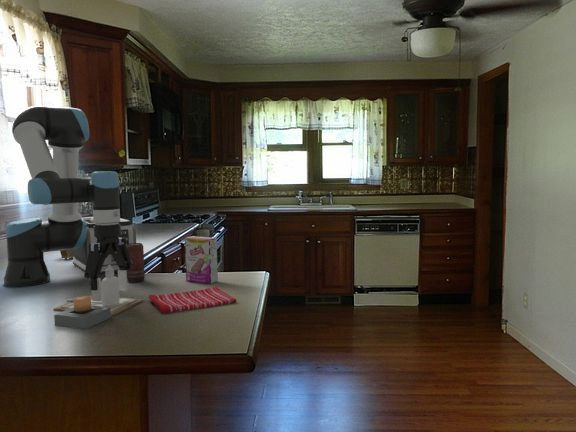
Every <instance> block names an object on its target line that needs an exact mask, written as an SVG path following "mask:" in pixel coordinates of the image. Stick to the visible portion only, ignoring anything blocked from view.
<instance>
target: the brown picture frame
mask: <svg viewBox="0 0 576 432" xmlns="http://www.w3.org/2000/svg"><path fill="white" fill-rule="evenodd" d="M88 296H90V297H91V305H92V306H102V307H110V311H111V317H112V316H114V315H116V314H119V313H121V312H123V311H125V310H128V309H130V308H132V307H134V306H136V305H139V304H141V303H144V302H145V300H144V299H142V298H130V297H120V302H119V303H117V304H115V305H112V306H103V305H102V301H92V294H90V295H88ZM101 297H102V295H101ZM73 299H74V298H70V299H69V298H68V299H67V300H66V302H67V303H64V304H62V305H58V306H56V307H54V308H53V311H54V312H55V311H56V312H62V311H65V310H68V309H70V308H73V307H74V300H73Z"/></svg>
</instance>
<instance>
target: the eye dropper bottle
mask: <svg viewBox="0 0 576 432" xmlns="http://www.w3.org/2000/svg"><path fill="white" fill-rule="evenodd" d="M104 275H105V277H104V278H103V279H102V280H101V296H102V305H103V306H112V305H115V304H117V303H119V302H120V291H119V279H118V276H115V273H114V269H112V268H111V265H108V268H107V269H106V270H105V274H104Z"/></svg>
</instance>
